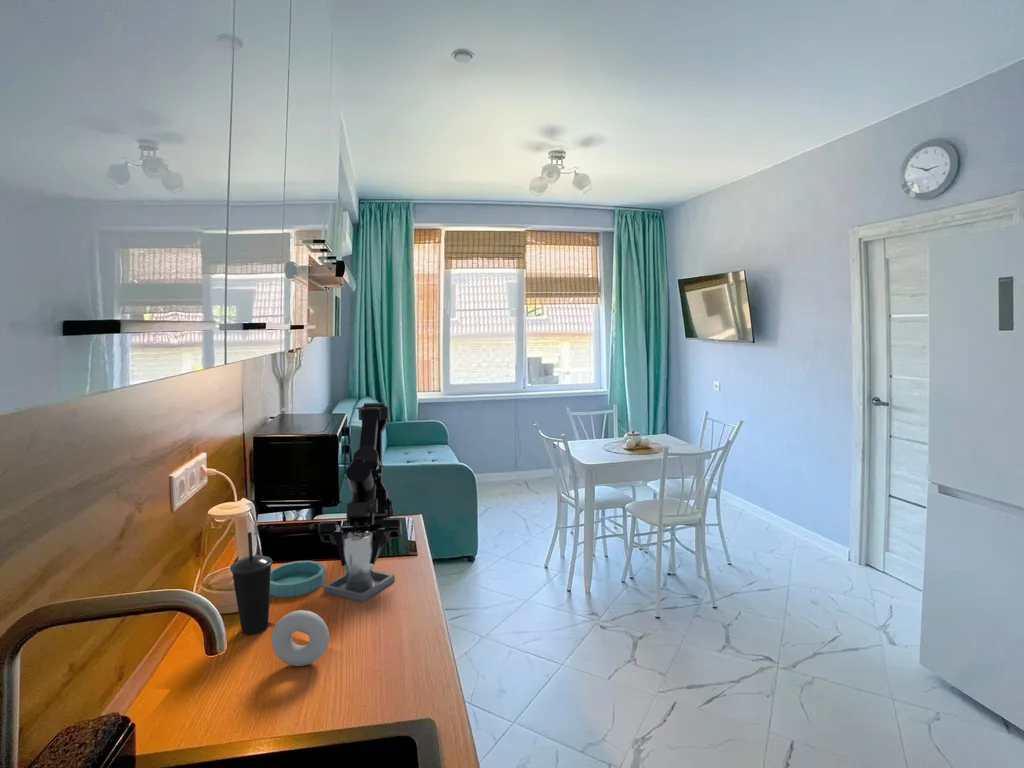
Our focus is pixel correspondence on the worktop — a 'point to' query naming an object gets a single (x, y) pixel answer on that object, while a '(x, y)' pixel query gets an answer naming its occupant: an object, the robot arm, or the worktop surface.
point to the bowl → (296, 578)
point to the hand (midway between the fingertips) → (358, 564)
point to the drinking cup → (252, 590)
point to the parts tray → (340, 590)
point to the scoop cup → (358, 561)
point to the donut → (292, 651)
